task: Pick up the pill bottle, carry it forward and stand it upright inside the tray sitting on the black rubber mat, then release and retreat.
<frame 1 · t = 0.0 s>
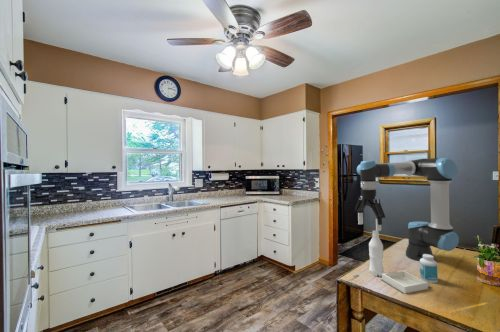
hand: (369, 227, 129), 28 cm above the table, fingers open, 13 cm apart
tray: (403, 283, 120), resting on mat
pill bottle: (428, 281, 124), on the table
water bottle: (376, 275, 132), on the table
mat: (405, 285, 120), on the table
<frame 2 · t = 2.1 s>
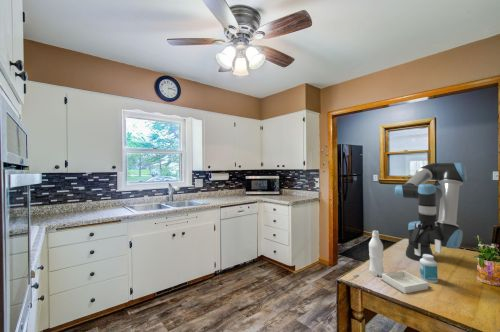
hand: (427, 253, 123), 15 cm above the table, fingers open, 13 cm apart
nothing on the table moved.
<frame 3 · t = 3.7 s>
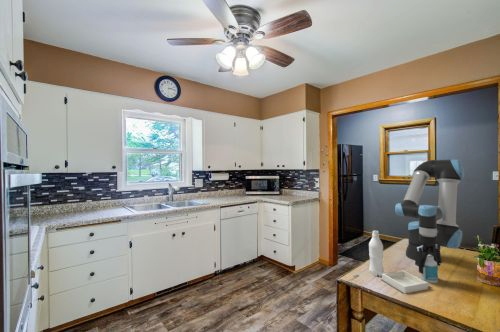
hand: (428, 277, 124), 2 cm above the table, fingers closed on pill bottle, 7 cm apart
pill bottle: (428, 281, 124), on the table, touching gripper
everything else where it was.
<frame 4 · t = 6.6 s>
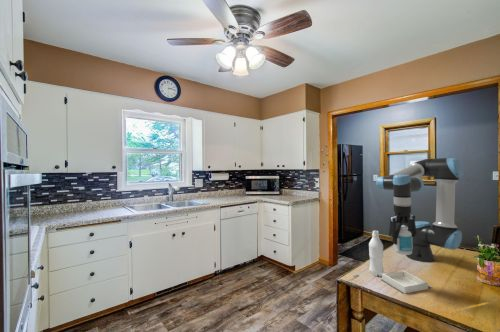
hand: (403, 249, 120), 19 cm above the table, fingers closed on pill bottle, 7 cm apart
pill bottle: (403, 252, 120), point 17 cm above the table, touching gripper
everything else where it was.
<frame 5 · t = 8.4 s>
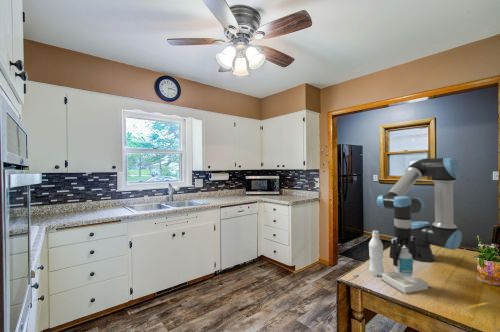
hand: (403, 270, 120), 8 cm above the table, fingers closed on pill bottle, 7 cm apart
pill bottle: (403, 274, 120), point 6 cm above the table, touching gripper
everything else where it was.
when the fingers open (5 cm above the table, at t = 9.5 s): pill bottle drops 1 cm, resting on tray.
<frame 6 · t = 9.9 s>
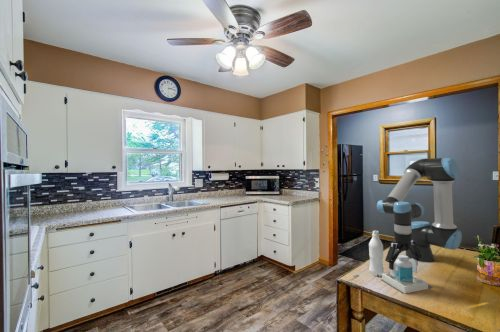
hand: (403, 273, 120), 6 cm above the table, fingers open, 13 cm apart
pill bottle: (404, 283, 120), point 1 cm above the table, touching tray
everything else where it was.
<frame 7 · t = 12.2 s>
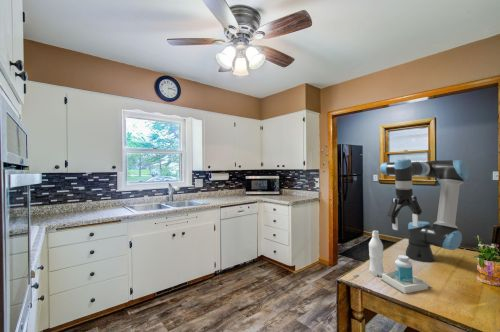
hand: (405, 227, 125), 28 cm above the table, fingers open, 13 cm apart
nothing on the table moved.
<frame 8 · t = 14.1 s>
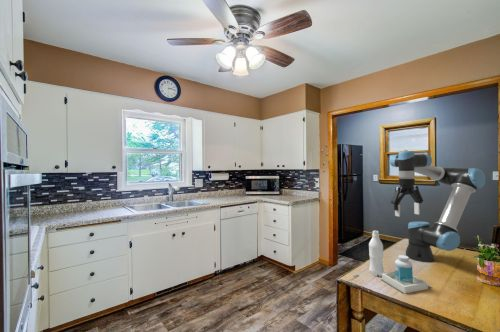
hand: (407, 215, 134), 33 cm above the table, fingers open, 13 cm apart
nothing on the table moved.
at the end: pill bottle inside the target area on the tray (0.1 cm from its centre), point 0.4 cm above the tray's base; pill bottle tilted 0°; the gripper is holding nothing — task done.
